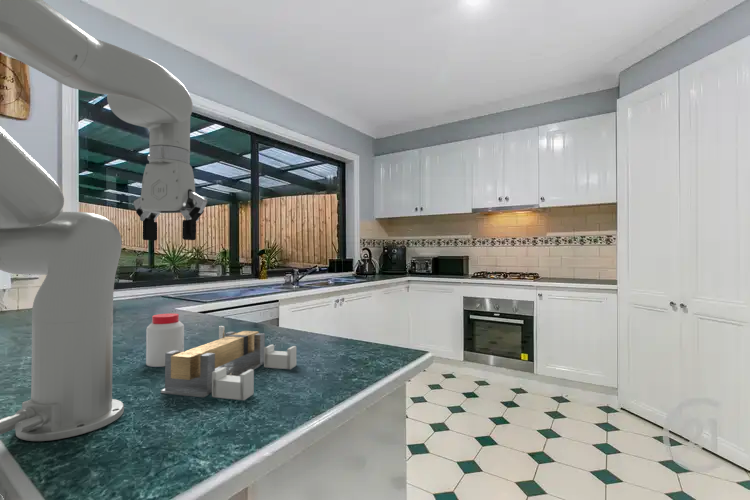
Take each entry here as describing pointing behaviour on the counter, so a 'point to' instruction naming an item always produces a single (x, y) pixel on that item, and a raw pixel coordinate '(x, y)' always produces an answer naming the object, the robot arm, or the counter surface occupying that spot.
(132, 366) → the counter surface
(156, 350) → the pill bottle
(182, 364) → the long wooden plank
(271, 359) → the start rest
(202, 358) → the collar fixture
